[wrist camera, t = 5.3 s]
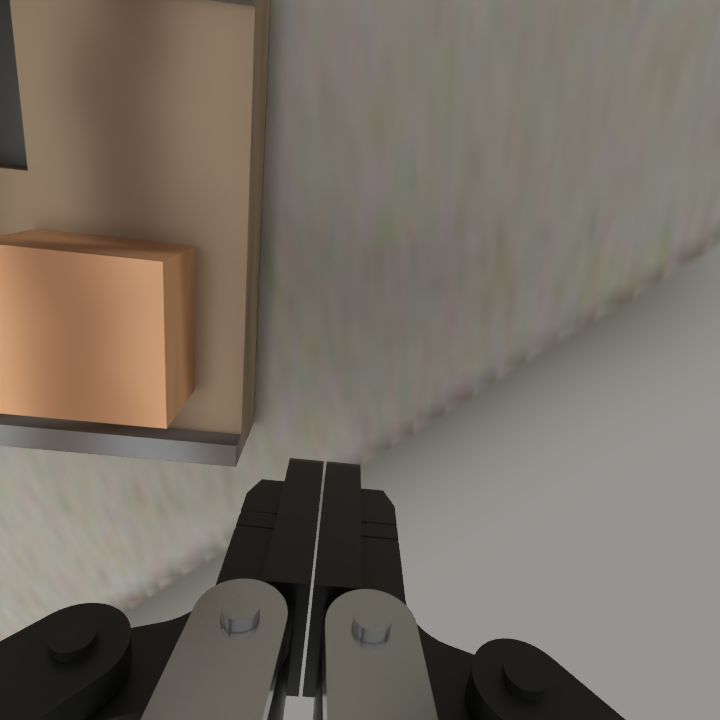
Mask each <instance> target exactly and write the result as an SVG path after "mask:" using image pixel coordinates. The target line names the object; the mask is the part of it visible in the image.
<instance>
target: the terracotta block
mask: <svg viewBox="0 0 720 720" xmlns="http://www.w3.org/2000/svg"><path fill="white" fill-rule="evenodd" d="M194 390H195V246H190V245H180V244H171V243H162V242H152V241H143V240H134V239H124V238H115V237H106V236H96V235H87V234H77V233H68V232H59V231H49V230H40V229H31V230H26V231H21V232H16V233H10V234H5V235H0V413H1V414H12V415H23V416H34V417H45V418H55V419H66V420H77V421H88V422H99V423H110V424H121V425H132V426H143V427H153V428H164V429H167V428H168V426H169V425H170V423H171V422H172V421H173V419H174V418H175V417H176V415H177V414H178V412H179V411H180V410H181V408H182V407H183V405H184V404H185V403H186V401H187V400H188V399H189V397H190V396H191V394H192V393H193V392H194Z"/></svg>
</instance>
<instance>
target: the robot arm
mask: <svg viewBox="0 0 720 720" xmlns="http://www.w3.org/2000/svg"><path fill="white" fill-rule="evenodd" d="M323 464H324V461H315V460H305V459H294V458H290V460H289V465H288V469H287V473H286V478H285V481H274V480H263V479H262V480H261V481H260V482H259V483H257V484H256V485H255V486H254V487H253V488H252V489H251V490H250V491H249V492H248V493H247V494H246V497H245V500H244V503H243V506H242V509H241V514H240V515H239V518H238V521H237V524H236V528H235V530H234V533H233V536H232V539H231V542H230V545H229V547H228V550H227V553H226V556H225V559H224V562H223V565H222V568H221V571H220V574H219V577H218V580H217V583H216V585H215V586H214V587H212V588H211V589H209V590H208V591H206V592H205V593H204V594H203V595H202V596H201V597H200V598H199V600H198V601H197V602H196V604H195V606H194V608H193V610H192V611H191V612H189V613H187V614H185V615H183V616H181V617H178V618H176V619H173V620H169V621H166V622H161V623H156V624H150V625H145V626H140V627H134V628H130V623H129V621H128V619H127V617H126V616H125V614H124V613H122V612H121V611H120V610H119V609H117V608H115V607H113V606H110V605H106V604H100V603H85V604H78V605H74V606H70V607H67V608H64V609H61V610H58V611H56V612H54V613H52V614H50V615H48V616H46V617H44V618H43V619H41V620H39V621H37V622H35V623H33V624H32V625H30V626H28V627H26V628H24V629H22V630H21V631H19V632H17V633H15V634H13V635H11V636H9V637H8V638H6V639H4V640H2V641H0V720H283V715H284V707H285V699H286V695H287V696H299V686H300V677H301V667H302V659H303V649H304V640H305V632H306V623H307V614H308V604H309V595H310V585H311V577H312V568H313V559H314V549H315V540H316V531H317V521H318V512H319V502H320V493H321V483H322V474H323ZM360 475H361V474H360V465H358V464H348V463H337V462H327V465H326V474H325V483H324V493H323V503H322V512H321V521H320V530H319V540H318V550H317V559H316V569H315V580H314V588H313V598H312V608H311V618H310V628H309V639H308V648H307V657H306V667H305V678H304V687H303V696H305V697H315V701H314V715H313V720H625V719H624V718H622V716H620V715H619V714H618V713H617V712H616V711H614V710H613V709H612V708H611V707H610V706H608V705H607V704H606V703H605V702H604V701H602V700H601V699H600V698H599V697H598V696H596V695H595V694H594V693H593V692H592V691H590V690H589V689H588V688H587V687H586V686H585V685H583V684H582V683H581V682H580V681H579V680H577V679H576V678H575V677H574V676H573V675H571V674H570V673H569V672H568V671H567V670H566V669H564V668H563V667H562V666H560V664H558V663H557V662H556V661H555V660H554V659H552V658H551V657H550V656H549V655H547V654H546V653H545V652H543V651H542V650H540V649H538V648H537V647H535V646H532V645H530V644H528V643H526V642H522V641H519V640H514V639H495V640H492V641H489V642H487V643H485V644H484V645H482V646H481V647H480V648H479V649H478V650H477V652H476V654H475V655H473V654H471V653H468V652H465V651H462V650H460V649H457V648H454V647H452V646H449V645H446V644H444V643H442V642H440V641H438V640H436V639H435V638H433V637H431V636H430V635H429V634H427V633H426V632H425V631H423V630H422V629H421V628H420V627H419V626H418V625H417V623H416V620H415V618H414V616H413V614H412V612H411V611H410V610H409V609H408V607H407V606H406V601H405V593H404V585H403V576H402V567H401V558H400V550H399V543H398V533H397V528H396V515H395V508H394V505H393V504H392V502H391V501H390V500H389V498H388V497H387V496H386V494H385V493H384V491H380V490H370V489H361V477H360Z"/></svg>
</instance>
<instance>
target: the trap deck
mask: <svg viewBox="0 0 720 720" xmlns="http://www.w3.org/2000/svg"><path fill="white" fill-rule="evenodd" d="M270 1H271V0H0V235H5V234H10V233H16V232H21V231H26V230H31V229H40V230H49V231H59V232H68V233H77V234H87V235H96V236H106V237H115V238H124V239H134V240H143V241H152V242H162V243H171V244H180V245H190V246H195V390H194V392H193V393H192V394H191V396H190V397H189V399H188V400H187V401H186V403H185V404H184V405H183V407H182V408H181V410H180V411H179V412H178V414H177V415H176V417H175V418H174V419H173V421H172V422H171V423H170V425H169V426H168V428H167V429H164V428H153V427H143V426H132V425H121V424H110V423H99V422H88V421H77V420H66V419H55V418H45V417H34V416H23V415H12V414H1V413H0V446H9V447H21V448H32V449H43V450H54V451H66V452H77V453H88V454H99V455H110V456H122V457H133V458H144V459H155V460H166V461H178V462H189V463H200V464H211V465H222V466H234V467H236V465H237V462H238V460H239V457H240V455H241V452H242V450H243V447H244V445H245V442H246V440H247V437H248V435H249V433H250V430H251V428H252V425H253V417H254V393H255V368H256V344H257V319H258V295H259V270H260V246H261V221H262V197H263V172H264V148H265V123H266V99H267V74H268V50H269V25H270Z"/></svg>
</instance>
